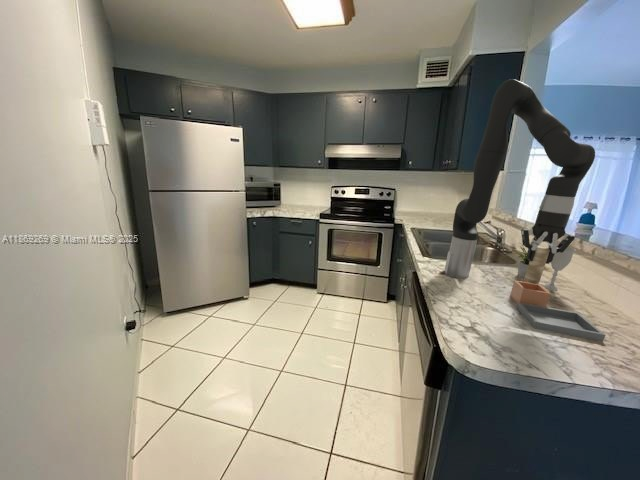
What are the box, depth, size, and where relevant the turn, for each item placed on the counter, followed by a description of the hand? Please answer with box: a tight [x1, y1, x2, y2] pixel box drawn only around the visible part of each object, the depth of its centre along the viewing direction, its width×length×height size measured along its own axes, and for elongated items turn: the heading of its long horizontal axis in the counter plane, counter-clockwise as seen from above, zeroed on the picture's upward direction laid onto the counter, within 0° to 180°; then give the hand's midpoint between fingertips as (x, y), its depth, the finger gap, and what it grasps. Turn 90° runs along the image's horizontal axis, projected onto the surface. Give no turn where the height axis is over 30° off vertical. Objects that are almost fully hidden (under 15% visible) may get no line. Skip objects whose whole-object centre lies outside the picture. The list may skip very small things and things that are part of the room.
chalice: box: [543, 244, 577, 292], centre depth 100 cm, size 7×7×18 cm
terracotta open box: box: [509, 279, 551, 307], centre depth 88 cm, size 8×8×7 cm
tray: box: [516, 302, 606, 342], centre depth 77 cm, size 16×12×3 cm
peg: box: [523, 245, 550, 284], centre depth 85 cm, size 4×4×12 cm
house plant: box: [513, 242, 530, 279], centre depth 115 cm, size 14×14×16 cm
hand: (537, 261), depth 85 cm, fingers closed on peg, 4 cm apart
